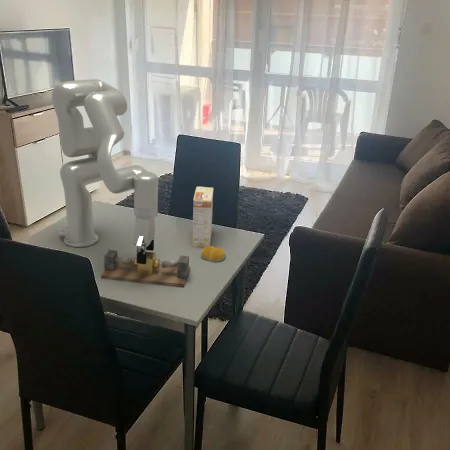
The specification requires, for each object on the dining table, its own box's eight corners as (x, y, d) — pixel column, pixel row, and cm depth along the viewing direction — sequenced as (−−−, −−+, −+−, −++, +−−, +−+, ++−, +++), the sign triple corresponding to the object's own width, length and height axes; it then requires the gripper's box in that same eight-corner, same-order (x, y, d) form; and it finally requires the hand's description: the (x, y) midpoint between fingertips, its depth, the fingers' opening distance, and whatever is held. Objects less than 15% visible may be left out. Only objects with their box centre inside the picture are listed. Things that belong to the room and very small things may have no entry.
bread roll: (220, 264, 180) (221, 254, 179) (198, 259, 183) (198, 249, 181) (228, 255, 187) (229, 245, 186) (206, 250, 190) (207, 240, 188)
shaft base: (101, 278, 166) (100, 259, 163) (112, 261, 177) (112, 243, 174) (183, 287, 164) (184, 268, 161) (190, 270, 175) (190, 251, 172)
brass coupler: (132, 273, 168) (132, 257, 166) (136, 266, 173) (136, 250, 170) (157, 275, 167) (157, 259, 165) (160, 268, 172) (160, 253, 170)
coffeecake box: (194, 230, 205) (196, 186, 198) (212, 231, 205) (214, 187, 197) (191, 246, 192) (192, 199, 184) (209, 247, 192) (212, 200, 184)
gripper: (141, 199, 169) (141, 243, 176) (126, 219, 154) (127, 267, 161) (163, 201, 169) (162, 246, 176) (150, 222, 153) (149, 270, 160)
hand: (145, 256), depth 168 cm, fingers open, 9 cm apart
